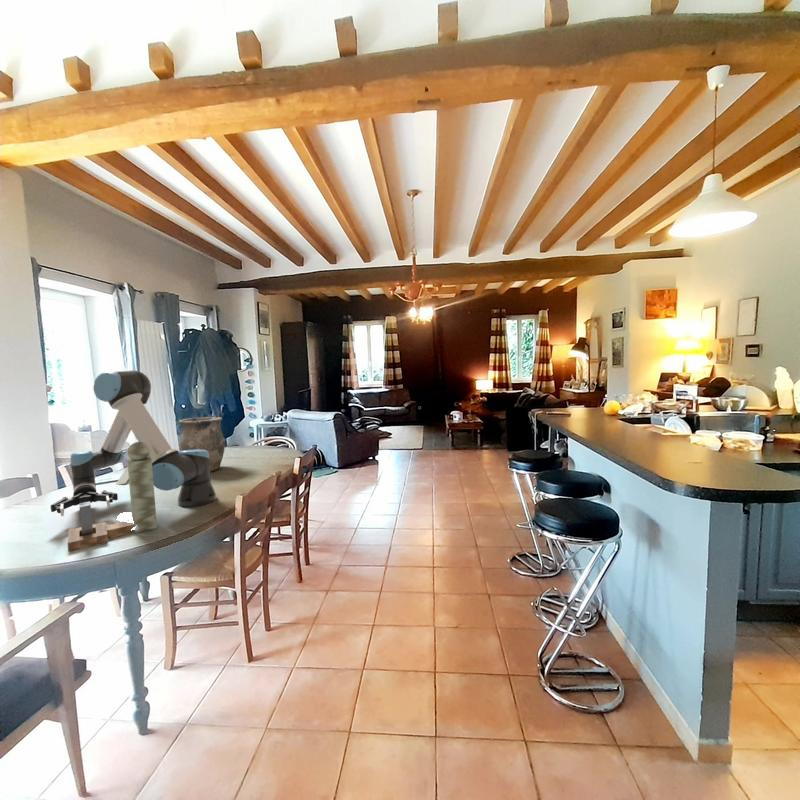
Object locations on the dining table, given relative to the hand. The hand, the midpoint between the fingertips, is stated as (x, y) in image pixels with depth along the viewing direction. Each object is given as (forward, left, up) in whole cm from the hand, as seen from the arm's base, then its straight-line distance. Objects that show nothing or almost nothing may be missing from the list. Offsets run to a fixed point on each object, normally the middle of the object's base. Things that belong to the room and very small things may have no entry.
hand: (85, 507), depth 151 cm
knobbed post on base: (-8, +9, -9) cm, 15 cm away
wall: (-22, -66, -9) cm, 70 cm away
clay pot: (-54, -65, -9) cm, 85 cm away
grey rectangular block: (0, +9, -9) cm, 13 cm away
